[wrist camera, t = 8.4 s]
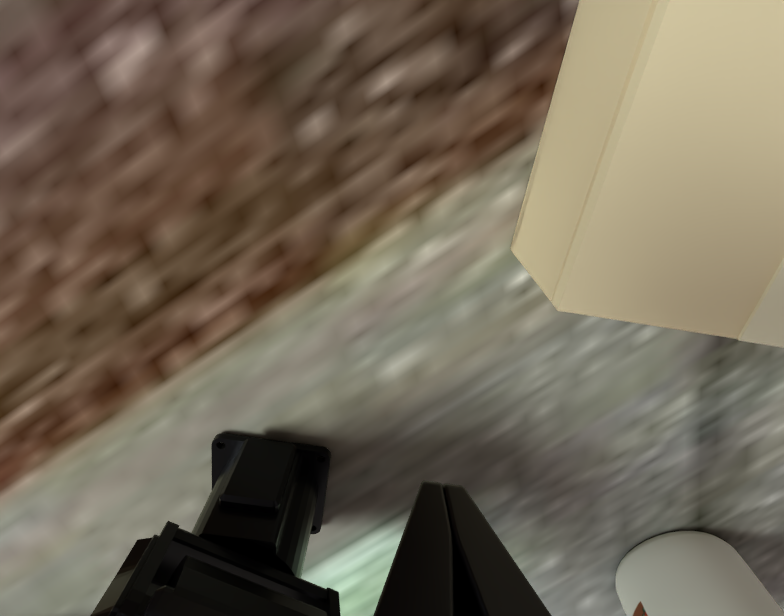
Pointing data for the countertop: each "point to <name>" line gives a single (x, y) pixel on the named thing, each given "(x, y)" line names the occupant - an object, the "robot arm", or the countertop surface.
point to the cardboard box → (578, 131)
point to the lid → (692, 181)
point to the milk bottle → (690, 579)
